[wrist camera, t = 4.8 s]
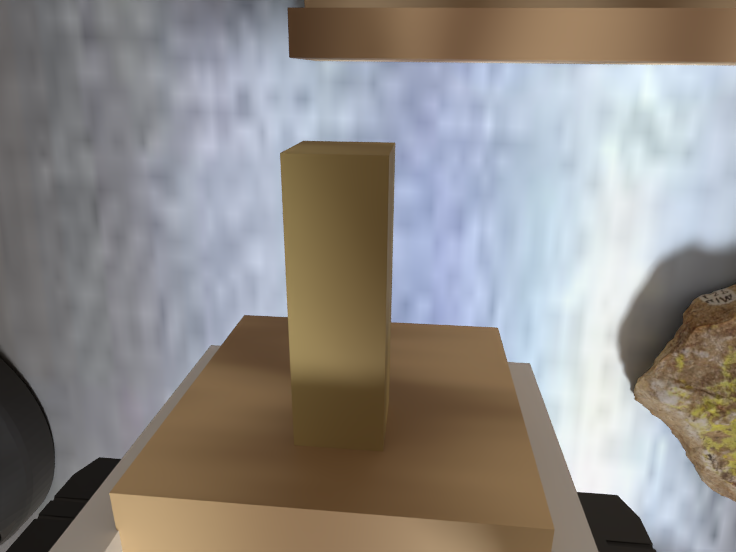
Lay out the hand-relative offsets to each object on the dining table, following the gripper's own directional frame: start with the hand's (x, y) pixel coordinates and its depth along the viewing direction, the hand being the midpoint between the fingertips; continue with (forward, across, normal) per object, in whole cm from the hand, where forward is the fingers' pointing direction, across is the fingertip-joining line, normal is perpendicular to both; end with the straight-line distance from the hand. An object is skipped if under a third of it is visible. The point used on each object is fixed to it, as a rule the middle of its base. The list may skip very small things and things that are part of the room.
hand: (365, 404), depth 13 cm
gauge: (0, 0, +2) cm, 2 cm away
